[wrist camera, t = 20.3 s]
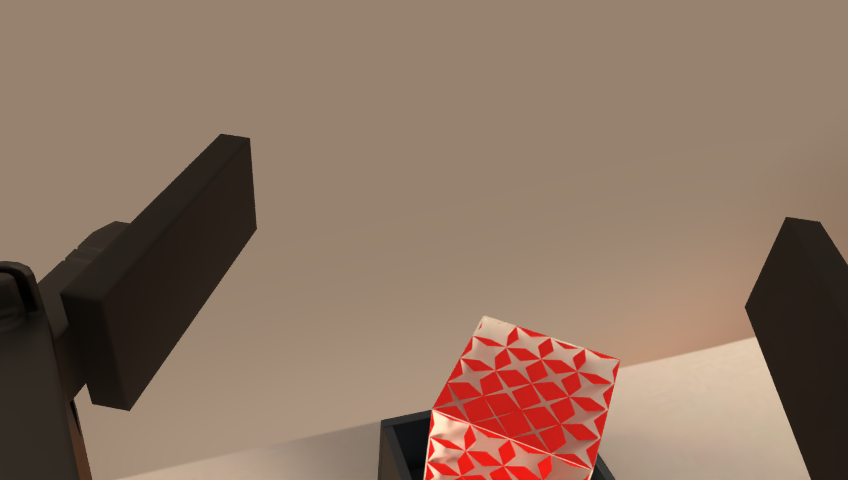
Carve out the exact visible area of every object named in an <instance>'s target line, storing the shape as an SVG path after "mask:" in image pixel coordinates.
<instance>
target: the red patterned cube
mask: <svg viewBox="0 0 848 480" xmlns="http://www.w3.org/2000/svg"><path fill="white" fill-rule="evenodd" d="M619 364H620V359H617V358H613V357H610V356H607V355H604V354H601V353H598V352H595V351H592V350H589V349H586V348H583V347H580V346H576V345H574V344H571V343H567V342H564V341H561V340H558V339H555V338H552V337H549V336H546V335H543V334H540V333H537V332H533V331H531V330H527V329H524V328H521V327H518V326H515V325H512V324H509V323H506V322H503V321H500V320H497V319H494V318H490V317H488V316H485V315H484V316H483V318H482V320H481V321H480V323H479V325H478V326H477V328H476V330H475V332H474V334H473V336H472V337H471V339H470V341H469V343H468V345H467V347H466V348H465V350H464V352H463V354H462V356H461V357H460V359H459V361H458V363H457V365H456V367H455V368H454V370H453V372H452V374H451V376H450V377H449V379H448V381H447V383H446V385H445V387H444V388H443V390H442V392H441V394H440V396H439V397H438V399H437V401H436V403H435V405H434V407H433V408H432V413H431V422H430V430H429V438H428V446H427V455H426V463H425V471H424V480H590V479H591V476H592V473H593V470H594V466H595V462H596V457H597V453H598V449H599V445H600V441H601V437H602V433H603V429H604V425H605V421H606V417H607V413H608V409H609V405H610V401H611V397H612V392H613V388H614V384H615V380H616V376H617V372H618V368H619Z"/></svg>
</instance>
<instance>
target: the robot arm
mask: <svg viewBox="0 0 848 480" xmlns="http://www.w3.org/2000/svg"><path fill="white" fill-rule="evenodd" d="M256 229H257V226H256V213H255V200H254V186H253V174H252V161H251V147H250V138H245V137H239V136H233V135H225V134H220V135H219V136H218V137H217V138H216V139H215V140H214V141H213V142H212V143H211V144H210V145H209V146H208V147H207V148H206V149H205V150H204V151H203V152H202V153H201V154H200V155H199V156H198V157H197V158H196V159H195V160H194V161H193V162H192V163H191V164H190V165H189V166H188V167H187V168H186V169H185V170H184V171H183V172H182V173H181V174H180V175H179V176H178V177H177V178H176V179H175V180H174V181H173V182H172V183H171V184H170V185H169V186H168V187H167V188H166V189H165V190H164V191H163V192H162V193H160V194H159V195H158V197H156V198H155V199H154V200H153V201H152V202H151V203H150V204H149V205H148V206H147V207H146V208H145V209H144V211H142V212H141V213H140V214H139V215H138V216H137V217H136V218H135V219H134V220H133V221H132V222H131V223H124V222H118V221H115V222H113V223H110V224H108V225H106V226H104V227H102V228H100V229H98V230H97V231H95V232H93V233H92V234H91V235H90V236H88V237H87V238H86V239H85V240H84V241H83V242H82V243H81V244H80V245H79V246H78V249H74V250H73V251H72V252H71V253H70V254H69V255H68V256H67V257H66V258H65V261H62V262H60V263H59V264H58V265H57V266H56V267H55V268H54V269H53V270H52V271H51V272H50V273H48V274H47V275H46V276H45V277H44V278H43V279H42V280H41V281H40V282H39V283H38V284H37V282H36V279H35V276H34V274H33V272H32V270H31V269H30V267H28V266H26V265H23V264H21V263H19V262H9V261H2V262H0V480H92V476H91V472H90V467H89V463H88V458H87V453H86V449H85V444H84V440H83V435H82V431H81V426H80V421H79V417H78V413H77V408H76V405H75V402H74V397H75V396H76V395H77V394H78V392H79V391H80V390H81V388H82V387H83V386H84V385H85V384H87V388H88V391H89V394H90V398H91V401H92V404H95V405H101V406H106V407H111V408H116V409H122V410H127V411H130V410H131V408H132V407H133V405H134V404H135V403H136V401H137V400H138V398H139V397H140V395H141V394H142V392H143V391H144V390H145V388H146V387H147V385H148V384H149V382H150V381H151V380H152V378H153V377H154V375H155V374H156V372H157V371H158V370H159V368H160V367H161V365H162V364H163V362H164V361H165V360H166V358H167V357H168V355H169V354H170V352H171V351H172V349H173V348H174V347H175V345H176V344H177V342H178V341H179V340H180V338H181V337H182V335H183V334H184V332H185V331H186V329H187V328H188V327H189V325H190V324H191V322H192V321H193V319H194V318H195V317H196V315H197V314H198V312H199V311H200V309H201V308H202V306H203V305H204V304H205V302H206V301H207V299H208V298H209V296H210V295H211V294H212V292H213V291H214V289H215V288H216V287H217V285H218V284H219V282H220V281H221V279H222V278H223V277H224V275H225V274H226V272H227V271H228V269H229V268H230V267H231V265H232V264H233V262H234V261H235V259H236V258H237V256H238V255H239V254H240V252H241V251H242V249H243V248H244V247H245V245H246V244H247V242H248V241H249V239H250V238H251V236H252V235H253V233H254V232H255V231H256ZM745 309H746V312H747V314H748V317H749V319H750V322H751V324H752V327H753V330H754V332H755V335H756V338H757V340H758V343H759V345H760V348H761V351H762V353H763V356H764V358H765V361H766V364H767V366H768V369H769V371H770V374H771V377H772V379H773V382H774V384H775V387H776V390H777V392H778V395H779V397H780V400H781V402H782V405H783V408H784V410H785V413H786V415H787V418H788V421H789V423H790V426H791V428H792V431H793V434H794V436H795V439H796V441H797V444H798V447H799V449H800V452H801V454H802V457H803V460H804V462H805V465H806V467H807V470H808V473H809V475H810V478H811V480H848V265H847V263H846V262H845V260H844V259H843V257H842V255H841V254H840V252H839V251H838V249H837V248H836V246H835V245H834V243H833V241H832V240H831V238H830V237H829V235H828V234H827V232H826V231H825V229H824V228H823V226H822V224H821V223H820V222H817V221H810V220H804V219H797V218H790V217H786V218H785V220H784V223H783V225H782V227H781V229H780V231H779V233H778V236H777V238H776V240H775V242H774V244H773V246H772V249H771V251H770V253H769V255H768V257H767V260H766V262H765V264H764V266H763V268H762V270H761V273H760V275H759V277H758V280H757V281H756V284H755V286H754V288H753V290H752V292H751V294H750V297H749V299H748V301H747V303H746V306H745Z"/></svg>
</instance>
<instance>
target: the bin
mask: <svg viewBox="0 0 848 480" xmlns="http://www.w3.org/2000/svg"><path fill="white" fill-rule="evenodd" d="M431 413H432V410H429V411H424V412H419V413H414V414H409V415H404V416H400V417H395V418H390V419H385V420H381V432H380V449H379V466H378V480H424V471H425V463H426V455H427V446H428V438H429V430H430V422H431ZM590 480H615V478H614V477H613V475H612V474H611V472H610V471H609V469H608V467H607V466H606V464H605V463H604V461H603V460H602V458H601V457H600V455H599V454H598V453H597V457H596V462H595V466H594V470H593V473H592V476H591V479H590Z"/></svg>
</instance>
